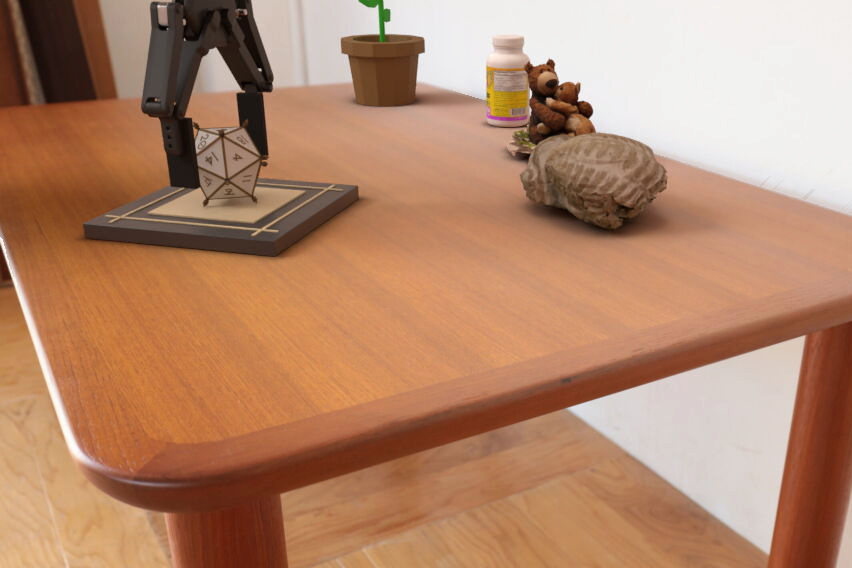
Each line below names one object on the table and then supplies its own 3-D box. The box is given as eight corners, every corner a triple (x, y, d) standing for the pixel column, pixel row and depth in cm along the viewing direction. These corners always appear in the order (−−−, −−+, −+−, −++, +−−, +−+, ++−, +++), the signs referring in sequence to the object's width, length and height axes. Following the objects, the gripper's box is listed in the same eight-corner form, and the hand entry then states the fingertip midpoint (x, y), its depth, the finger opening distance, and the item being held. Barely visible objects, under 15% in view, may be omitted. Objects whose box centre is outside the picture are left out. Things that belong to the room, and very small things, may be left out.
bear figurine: (532, 173, 110) (534, 71, 105) (495, 147, 123) (495, 55, 118) (632, 166, 114) (639, 67, 109) (586, 141, 127) (590, 52, 122)
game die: (243, 240, 92) (236, 179, 84) (169, 206, 93) (154, 141, 84) (287, 181, 97) (284, 117, 88) (216, 149, 97) (207, 82, 89)
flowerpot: (355, 92, 162) (344, -92, 149) (433, 94, 161) (429, -91, 148) (333, 107, 149) (318, -93, 136) (418, 109, 148) (411, -93, 135)
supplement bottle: (493, 118, 142) (493, 33, 136) (534, 121, 140) (535, 34, 135) (480, 126, 136) (480, 37, 131) (522, 129, 134) (524, 39, 129)
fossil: (499, 178, 101) (533, 94, 98) (599, 214, 106) (633, 134, 103) (548, 225, 85) (590, 126, 82) (662, 264, 91) (705, 172, 88)
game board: (84, 238, 86) (81, 221, 85) (197, 185, 104) (195, 171, 103) (275, 256, 82) (273, 239, 81) (359, 198, 100) (358, 183, 99)
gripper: (153, -56, 70) (188, 206, 79) (295, -60, 92) (310, 146, 101) (69, -59, 72) (113, 199, 81) (229, -62, 94) (249, 141, 103)
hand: (223, 170), depth 91 cm, fingers open, 13 cm apart
